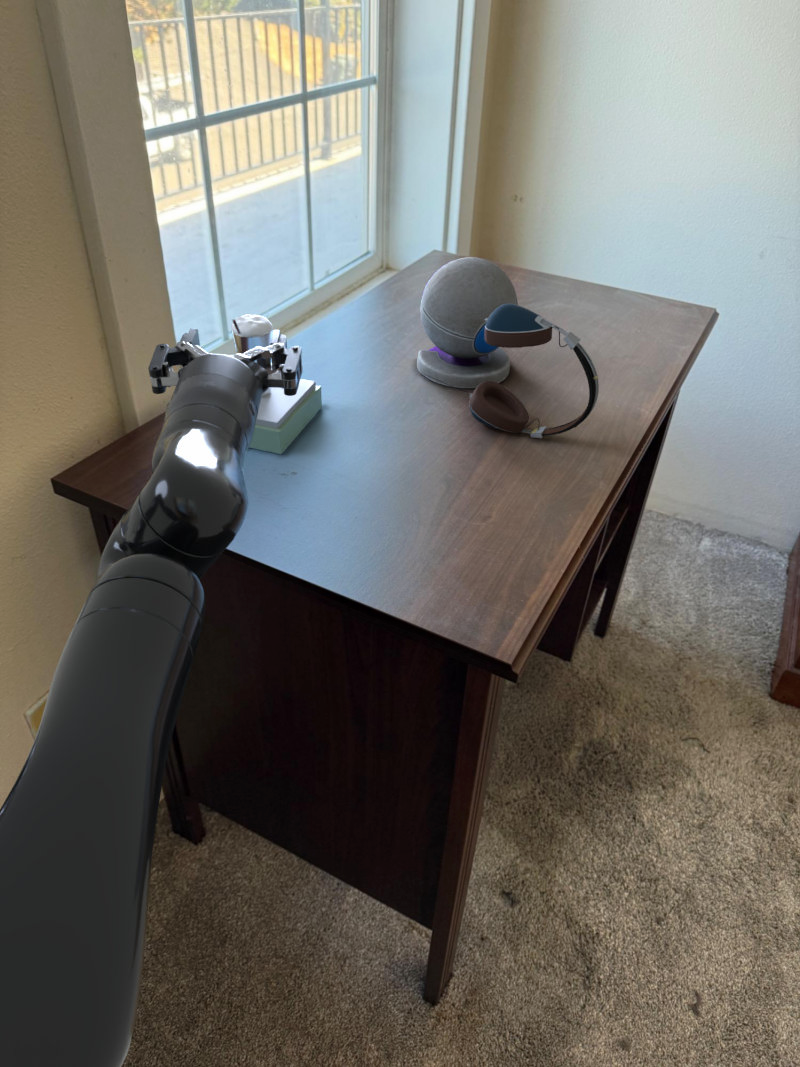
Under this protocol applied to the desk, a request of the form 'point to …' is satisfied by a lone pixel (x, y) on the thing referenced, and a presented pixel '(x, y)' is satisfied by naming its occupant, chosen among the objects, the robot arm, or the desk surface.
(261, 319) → the milkshake
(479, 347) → the webcam
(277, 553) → the desk surface
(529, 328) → the headphones
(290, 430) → the scale
